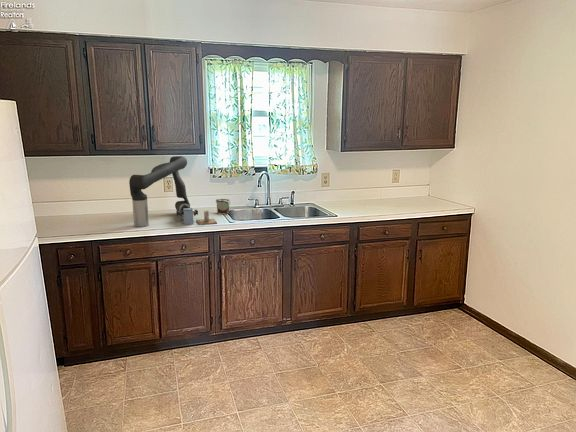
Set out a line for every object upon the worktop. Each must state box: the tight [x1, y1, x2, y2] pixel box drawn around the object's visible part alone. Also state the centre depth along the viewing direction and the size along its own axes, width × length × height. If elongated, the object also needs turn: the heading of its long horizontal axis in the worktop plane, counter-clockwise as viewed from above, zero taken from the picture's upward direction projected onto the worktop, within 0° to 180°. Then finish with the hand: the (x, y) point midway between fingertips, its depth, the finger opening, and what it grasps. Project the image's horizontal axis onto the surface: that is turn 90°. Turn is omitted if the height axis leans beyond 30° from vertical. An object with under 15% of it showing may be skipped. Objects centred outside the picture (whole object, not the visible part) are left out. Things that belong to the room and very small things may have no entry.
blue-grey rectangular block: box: [183, 207, 194, 226], centre depth 291 cm, size 6×6×10 cm
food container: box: [215, 198, 231, 215], centre depth 325 cm, size 12×6×10 cm, turn 57°
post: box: [195, 210, 218, 226], centre depth 295 cm, size 12×12×8 cm
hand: (188, 214), depth 291 cm, fingers open, 8 cm apart
